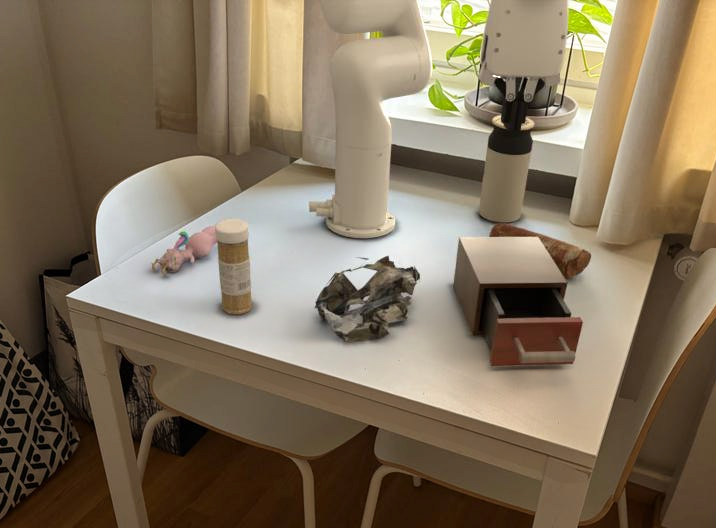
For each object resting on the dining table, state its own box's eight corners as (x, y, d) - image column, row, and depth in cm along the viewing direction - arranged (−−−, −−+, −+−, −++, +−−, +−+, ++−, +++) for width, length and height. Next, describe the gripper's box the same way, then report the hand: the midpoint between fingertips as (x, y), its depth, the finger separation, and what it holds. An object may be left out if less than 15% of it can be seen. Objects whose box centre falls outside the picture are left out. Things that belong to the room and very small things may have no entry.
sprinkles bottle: (244, 297, 116) (239, 214, 108) (258, 311, 113) (254, 227, 105) (216, 305, 113) (208, 221, 106) (229, 319, 110) (223, 234, 103)
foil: (307, 279, 114) (394, 231, 111) (345, 332, 119) (429, 288, 116) (303, 317, 104) (399, 265, 101) (345, 373, 110) (437, 325, 106)
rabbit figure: (174, 288, 119) (242, 243, 128) (164, 256, 115) (235, 212, 124) (148, 275, 122) (216, 232, 131) (138, 244, 118) (209, 201, 127)
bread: (567, 287, 123) (574, 256, 120) (481, 244, 135) (485, 214, 132) (591, 276, 127) (598, 246, 124) (505, 235, 138) (510, 206, 135)
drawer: (585, 385, 100) (596, 342, 96) (500, 388, 98) (507, 344, 94) (544, 312, 115) (552, 272, 111) (470, 313, 113) (475, 273, 109)
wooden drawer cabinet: (556, 334, 112) (567, 282, 107) (472, 335, 110) (479, 283, 105) (529, 285, 123) (538, 236, 119) (453, 286, 122) (458, 236, 117)
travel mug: (528, 215, 146) (544, 122, 136) (504, 227, 141) (519, 131, 131) (494, 203, 150) (507, 111, 140) (470, 214, 145) (482, 119, 135)
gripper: (583, -24, 97) (556, 120, 107) (467, -29, 95) (452, 118, 105) (604, -14, 91) (573, 138, 101) (480, -19, 89) (463, 137, 99)
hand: (511, 128), depth 103 cm, fingers closed
